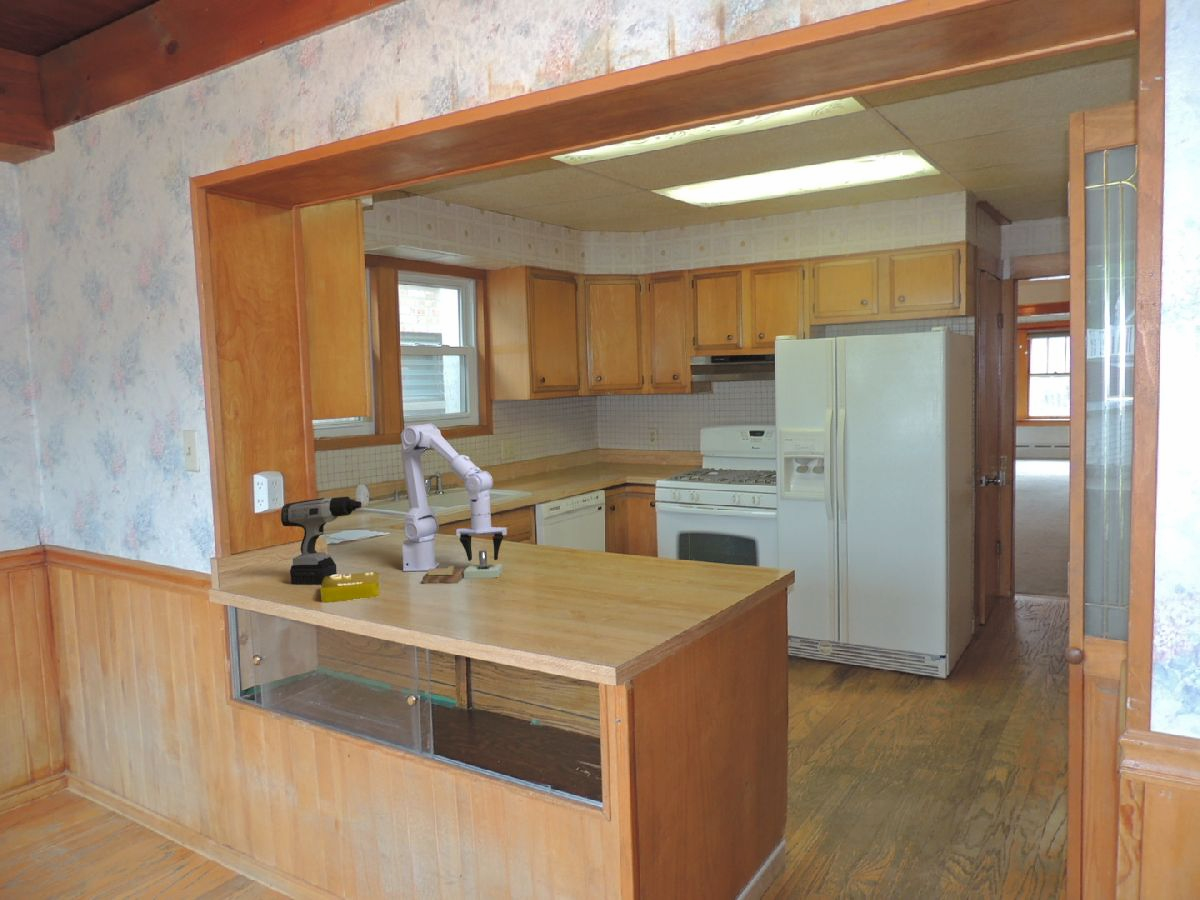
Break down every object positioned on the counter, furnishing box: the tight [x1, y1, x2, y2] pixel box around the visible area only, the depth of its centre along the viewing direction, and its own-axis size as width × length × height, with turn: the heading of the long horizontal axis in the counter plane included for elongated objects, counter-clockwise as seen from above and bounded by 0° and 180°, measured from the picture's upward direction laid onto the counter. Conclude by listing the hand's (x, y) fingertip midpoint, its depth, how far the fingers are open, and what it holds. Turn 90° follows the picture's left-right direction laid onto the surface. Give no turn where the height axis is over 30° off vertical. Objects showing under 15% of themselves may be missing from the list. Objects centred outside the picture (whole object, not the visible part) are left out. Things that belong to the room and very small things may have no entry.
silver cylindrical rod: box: [478, 549, 488, 569], centre depth 251 cm, size 2×2×7 cm
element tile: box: [320, 571, 381, 604], centre depth 235 cm, size 15×15×5 cm
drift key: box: [427, 565, 455, 575], centre depth 243 cm, size 7×2×2 cm, turn 87°
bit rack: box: [463, 563, 504, 579], centre depth 251 cm, size 10×8×2 cm
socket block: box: [422, 568, 466, 584], centre depth 247 cm, size 10×9×2 cm
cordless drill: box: [280, 496, 362, 585], centre depth 249 cm, size 8×24×25 cm, turn 78°
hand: (483, 559), depth 251 cm, fingers open, 7 cm apart
